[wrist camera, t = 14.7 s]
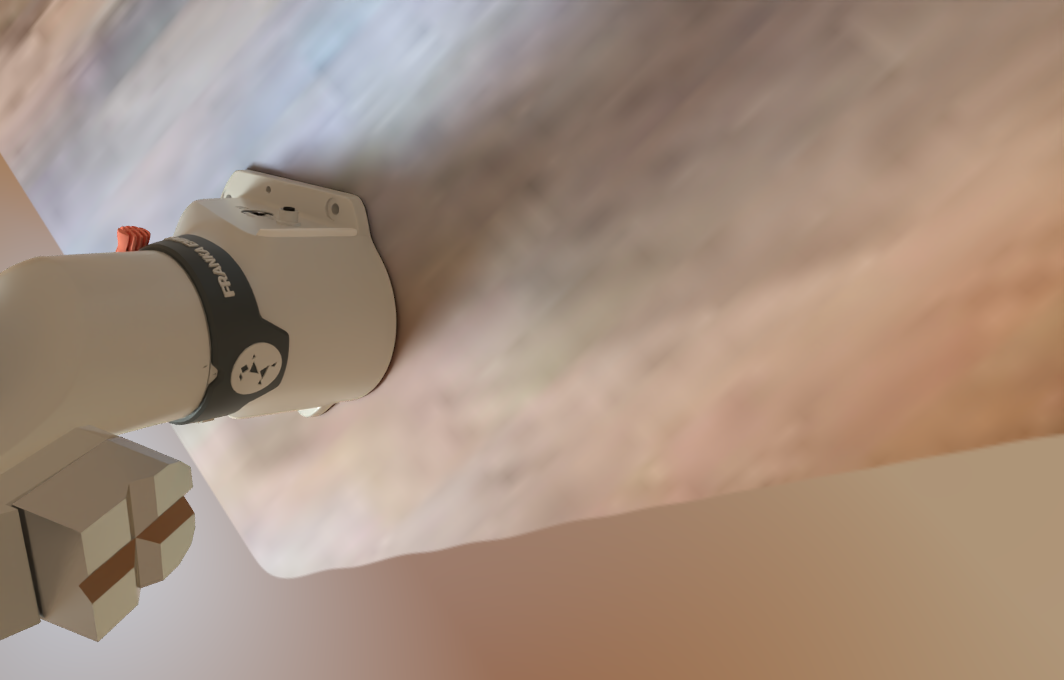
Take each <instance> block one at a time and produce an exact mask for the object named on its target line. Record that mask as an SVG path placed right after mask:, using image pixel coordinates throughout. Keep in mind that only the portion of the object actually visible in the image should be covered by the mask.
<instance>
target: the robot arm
mask: <svg viewBox="0 0 1064 680" xmlns="http://www.w3.org/2000/svg"><path fill="white" fill-rule="evenodd" d="M117 237H118V247H117V250H116V252H109V253H91V254H73V255H57V256H39V257H34V258H31V259H28V260H25V261H22V262H20V263H17V264H15V265H13V266H11V267H9V268H7V269H6V270H4V271H3V272H1V273H0V640H2V639H4V638H7V637H9V636H11V635H14V634H16V633H18V632H20V631H23V630H25V629H27V628H30V627H32V626H34V625H37V624H39V623H40V622H41V620H40V619H43V620H45V621H48V622H50V623H52V624H55V625H57V626H60V627H62V628H65V629H67V630H70V631H72V632H75V633H77V634H80V635H82V636H85V637H87V638H89V639H92V640H94V641H97V642H99V641H100V640H101V639H102V638H103V637H104V636H105V635H106V634H107V633H108V632H109V631H110V630H111V629H112V628H113V627H115V626H116V625H117V624H118V623H119V622H120V621H121V620H122V619H123V618H124V617H125V616H126V615H127V614H128V613H129V612H131V611H132V610H133V609H134V608H135V607H136V606H137V605H138V601H139V595H140V590H141V588H142V587H145V586H148V585H151V584H154V583H157V582H160V581H163V580H164V579H165V578H166V577H167V576H168V575H169V574H170V573H171V572H172V571H173V570H174V569H175V568H176V567H177V566H178V565H179V564H180V563H181V561H182V559H183V557H184V556H185V554H186V552H187V551H188V549H189V547H190V545H191V543H192V539H193V534H194V530H195V514H194V512H193V510H192V508H191V507H190V505H189V503H188V502H187V500H186V499H185V497H184V495H185V494H186V493H187V492H188V491H189V490H190V489H191V488H192V487H193V484H192V475H191V467H190V466H188V465H186V464H184V463H183V462H181V461H179V460H177V459H174V458H172V457H169V456H167V455H164V454H162V453H159V452H157V451H154V450H152V449H149V448H147V447H145V446H142V445H140V444H138V443H135V442H133V441H130V440H128V439H125V438H123V437H119V436H117V435H120V434H123V433H127V432H131V431H135V430H138V429H142V428H146V427H150V426H153V425H157V424H162V423H166V422H169V423H172V424H176V425H184V424H189V423H199V422H201V423H202V422H207V421H212V420H214V418H218V417H222V416H226V415H228V416H229V417H230V418H233V419H244V418H251V417H258V416H265V415H272V414H278V413H285V412H291V411H298V412H299V413H300V414H301V415H302V416H304V417H315V416H319V415H321V414H323V413H324V412H325V411H326V410H328V409H329V408H330V407H331V406H332V405H333V404H335V403H338V402H345V401H352V400H356V399H359V398H361V397H363V396H365V395H366V394H368V393H369V392H370V391H372V390H373V389H374V388H375V387H376V386H377V384H378V383H379V382H380V380H381V379H382V377H383V376H384V374H385V372H386V370H387V368H388V366H389V363H390V360H391V357H392V353H393V349H394V344H395V337H396V308H395V300H394V295H393V290H392V286H391V283H390V279H389V276H388V273H387V271H386V268H385V266H384V264H383V262H382V260H381V258H380V256H379V254H378V252H377V250H376V248H375V246H374V244H373V242H372V239H371V236H370V231H369V225H368V220H367V215H366V211H365V208H364V205H363V203H362V201H361V199H360V198H359V197H358V196H356V195H353V194H349V193H345V192H341V191H337V190H333V189H328V188H324V187H320V186H316V185H312V184H307V183H303V182H299V181H295V180H291V179H286V178H282V177H278V176H274V175H270V174H265V173H261V172H257V171H252V170H237V171H235V172H234V173H233V175H232V176H231V177H230V179H229V180H228V182H227V184H226V186H225V188H224V190H223V192H222V195H221V198H214V199H200V200H196V201H194V202H192V203H191V204H190V205H189V206H188V207H187V208H186V209H185V211H184V212H183V213H182V215H181V217H180V219H179V222H178V224H177V227H176V229H175V232H174V234H173V237H169V238H165V239H164V240H162V241H159V242H156V243H153V244H149V245H148V243H149V240H150V232H149V231H147V230H146V229H143V228H138V227H135V226H132V227H130V226H125V227H124V226H123V227H120V228H118V231H117Z"/></svg>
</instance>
